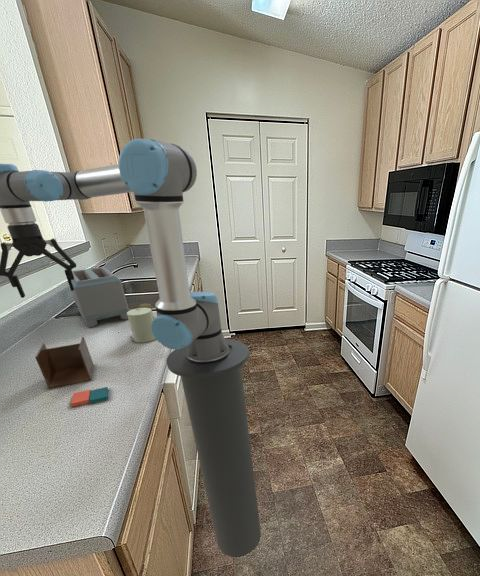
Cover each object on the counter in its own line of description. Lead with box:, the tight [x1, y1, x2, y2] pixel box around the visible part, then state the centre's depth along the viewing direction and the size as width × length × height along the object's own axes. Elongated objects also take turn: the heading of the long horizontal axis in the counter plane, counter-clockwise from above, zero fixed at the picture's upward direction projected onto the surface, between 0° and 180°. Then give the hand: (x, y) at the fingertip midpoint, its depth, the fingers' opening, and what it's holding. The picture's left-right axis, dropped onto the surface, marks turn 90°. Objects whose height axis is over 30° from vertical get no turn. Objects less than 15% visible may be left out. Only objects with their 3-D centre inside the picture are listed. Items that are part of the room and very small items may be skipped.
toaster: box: [69, 266, 130, 328], centre depth 159 cm, size 19×33×20 cm, turn 38°
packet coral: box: [70, 389, 91, 408], centre depth 96 cm, size 4×6×1 cm
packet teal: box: [89, 386, 109, 405], centre depth 97 cm, size 4×6×1 cm
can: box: [127, 307, 156, 343], centre depth 134 cm, size 9×9×12 cm
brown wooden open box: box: [34, 336, 95, 390], centre depth 106 cm, size 12×11×11 cm
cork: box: [138, 303, 155, 319], centre depth 143 cm, size 6×6×11 cm
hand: (48, 293), depth 109 cm, fingers open, 13 cm apart
